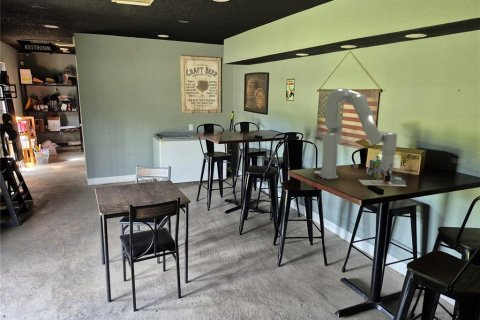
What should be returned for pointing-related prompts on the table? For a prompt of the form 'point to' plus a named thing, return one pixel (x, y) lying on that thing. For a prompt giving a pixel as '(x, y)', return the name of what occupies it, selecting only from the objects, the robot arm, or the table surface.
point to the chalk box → (376, 168)
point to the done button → (397, 179)
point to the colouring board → (377, 182)
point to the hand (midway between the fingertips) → (386, 180)
